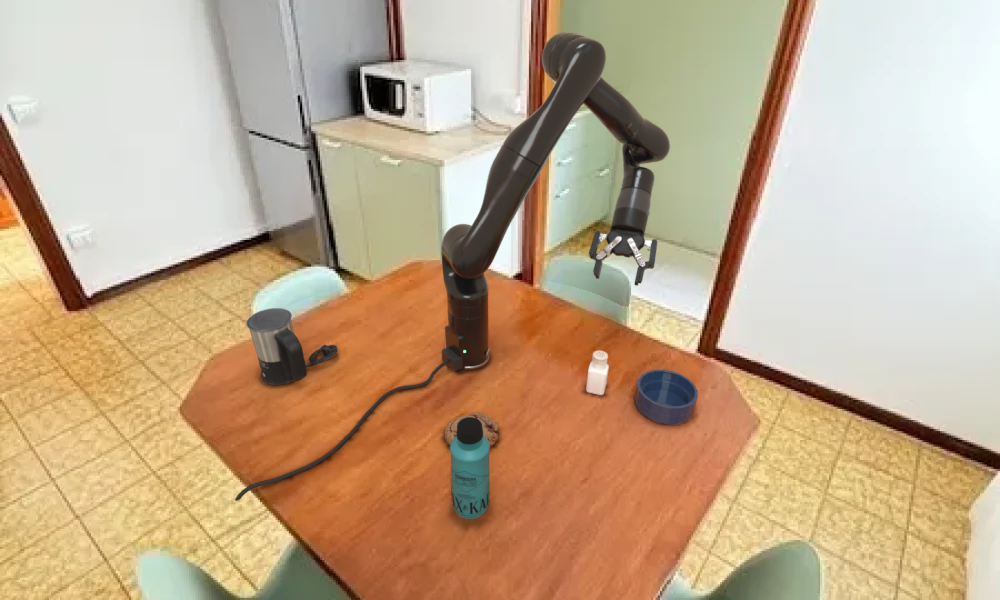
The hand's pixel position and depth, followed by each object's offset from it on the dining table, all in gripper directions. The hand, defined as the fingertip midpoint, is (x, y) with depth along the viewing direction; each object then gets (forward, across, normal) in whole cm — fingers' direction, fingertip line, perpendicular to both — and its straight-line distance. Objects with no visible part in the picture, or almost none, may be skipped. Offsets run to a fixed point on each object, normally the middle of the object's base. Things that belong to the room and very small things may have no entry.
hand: (616, 281), depth 118 cm
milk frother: (+35, -66, -5) cm, 75 cm away
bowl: (+24, +14, +7) cm, 28 cm away
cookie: (+40, -20, -9) cm, 45 cm away
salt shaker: (+24, 0, +7) cm, 24 cm away
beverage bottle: (+51, -14, -20) cm, 56 cm away
